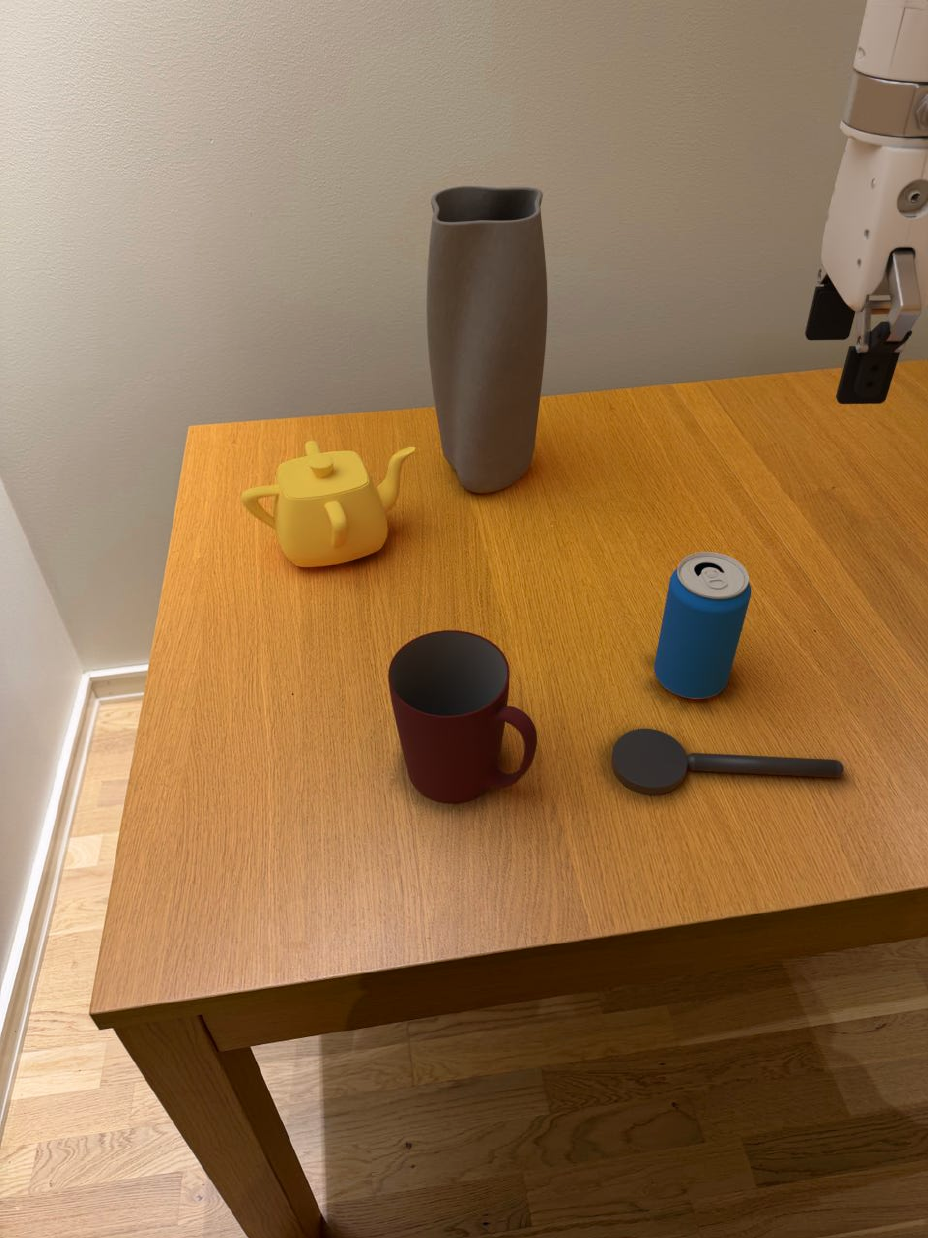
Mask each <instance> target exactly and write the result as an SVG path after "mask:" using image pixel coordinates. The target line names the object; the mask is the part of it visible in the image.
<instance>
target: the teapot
mask: <svg viewBox="0 0 928 1238" xmlns="http://www.w3.org/2000/svg"><path fill="white" fill-rule="evenodd" d="M415 451H416V447H415V446H408V447H404V448H402V449H400V450H398V451H396V452H395V453H394V454H393V455H392V456H391V458H390V459H389V461H388V465H387V469H386V474H385V477H384V479H383V481H382V482H381V483H380V484H378V485H376V484H375V481H374V480H373V477H372V475H371V474H370V472H369V470H368V469H367V467H366V465H365V463H364V461H363V459H362V458H361V456H360V455H359V454H358V453H357V452H355V451H353V450H333V451H325V452H322V449H321V446H320V444H319V442H318V441H316V440H309V441H307V442H306V443H305V444H304V452H305V455H304V456H303V455H302V456H299V457H296V458H292V459H289V460H286V461H284V462H282V463H280V465H278V467H277V469H276V473H275V477H274V483H273V484H272V485H271V484H270V485H260V486H254V487H250V488H248V489H246V490H244V491H243V492H242V494H241V496H240V497H241V502H242V506H244V508H245V509H246V511H247V512H248V513H250V514H251V515H252V516H253V517H254V518H256V519H257V520H259V521H260V522H262V523H263V524H265V525H267V526H268V527H270V528H272V529H273V530H274V532H275V536H276V539H277V541H278V544H279V546H280V549H281V550H282V552H283V554H284V556H285V557H286V558H287V559H288V560H289V561H290V563H292V565H294V566H296V567H300V568H316V567H324V566H325V567H326V566H333V565H339V564H344V563H348V562H351V561H355V560H358V559H361V558H364V557H367V556H369V555H372V554H375V553H377V552H378V551H379V550H381V549H382V548H383V545H385V543H386V540H387V538H388V533H389V528H388V522H387V517H386V515H387V514H388V513H389V512H390V511H392V509H393V508H394V507H395V506H396V504H397V501H398V500H399V497H400V496H399V495H400V490H401V474H402V468H403V466H404V463H405V461H406V460H407V459H408V458H409V457H410V455H412V454H413V453H414V452H415ZM269 497H271V498H272V499H271V501H272V502H271V503H272V515H271V514H270V513H269V512H268V511H266V509H265V508H264V507H263V506H262V504H261V503H260V502H259V500H260V499H263V498H269Z"/></svg>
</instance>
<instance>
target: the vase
mask: <svg viewBox="0 0 928 1238" xmlns="http://www.w3.org/2000/svg"><path fill="white" fill-rule="evenodd" d="M543 193H544V192H542V190H541V189H539V188H536V187H532V186H531V187H530V186H505V187H496V186H495V187H494V186H482V185H461V186H453V187H449V188H445V189H442V190H439V191H437V192H436V193H434V194H433V195H432V196H431V198H430V204H431V208H432V213H433V214H432V217H431V218H432V220H431V228H430V237H429V247H428V261H427V275H426V276H427V277H426V279H427V280H426V333H427V348H428V359H429V361H428V363H429V369H430V378H431V384H432V393H433V400H434V407H435V413H436V420H437V425H438V432H439V439H440V445H441V451H442V454H443V456H444V459H445V460H446V462H447V463H448V464H449V466H450V467H451V468H452V469H453V470H454V471H455V472H456V475H457V479H458V480H459V482H460V485H461V486H462V487H463V488H464V489H466V490H467V491H469V492H472V493H476V494H490V493H495V492H498V491H501V490H504V489H506V488H508V487H510V486H512V485H513V484H515V483H516V482H517V481H518V480H520V479H521V478H522V477H523V476H524V475H525V473H526V472H527V471H528V469H529V467H530V466H531V463H532V461H533V458H534V455H535V448H536V439H537V430H538V421H539V411H540V404H541V394H542V386H543V378H544V377H543V376H544V367H545V358H546V348H547V347H546V345H547V333H548V330H547V329H548V308H549V307H548V305H549V304H548V303H549V302H548V301H549V300H548V299H549V298H548V275H547V274H548V273H547V259H546V250H545V241H544V240H545V239H544V232H543V231H544V229H543V222H542V209H541V207H542V202H543V197H544V194H543Z"/></svg>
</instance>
